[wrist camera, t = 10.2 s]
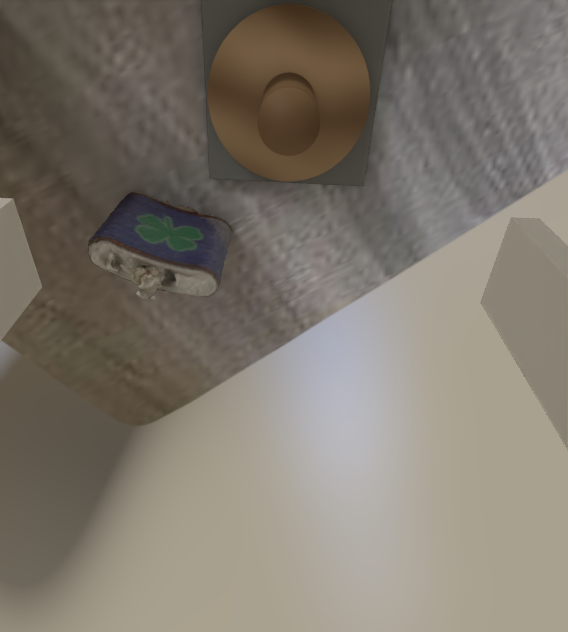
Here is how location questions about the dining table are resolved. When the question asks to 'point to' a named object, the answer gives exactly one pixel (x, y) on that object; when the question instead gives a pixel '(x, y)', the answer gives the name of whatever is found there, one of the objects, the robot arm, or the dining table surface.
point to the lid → (288, 92)
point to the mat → (369, 34)
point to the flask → (162, 246)
